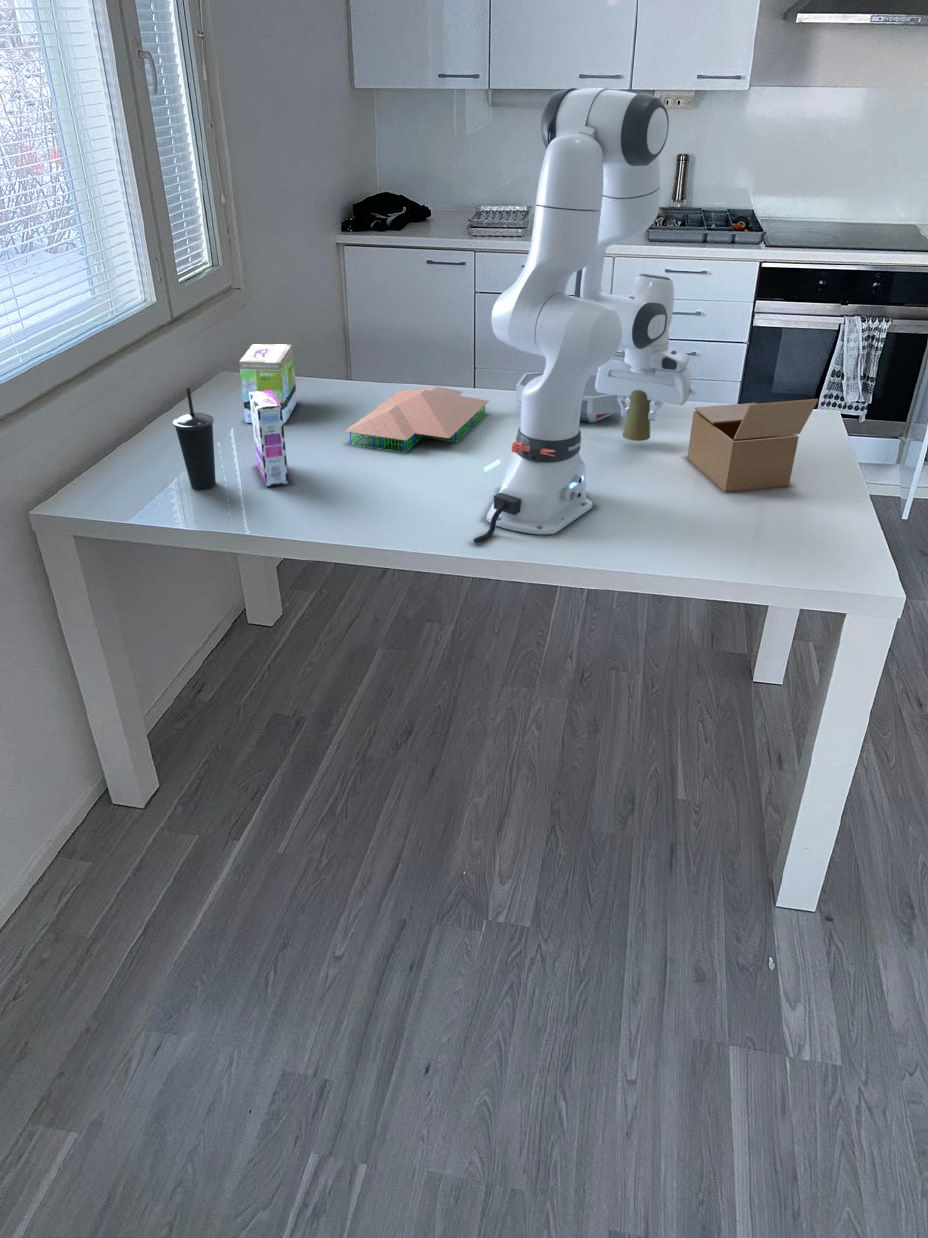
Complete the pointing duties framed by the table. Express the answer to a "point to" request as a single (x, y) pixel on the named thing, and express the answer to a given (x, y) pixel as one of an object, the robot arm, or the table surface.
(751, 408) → the flap
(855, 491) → the table surface
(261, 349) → the tea box
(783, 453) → the carton
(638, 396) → the cork
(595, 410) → the first aid kit
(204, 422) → the drinking cup
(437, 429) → the house
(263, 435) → the candy bar box
